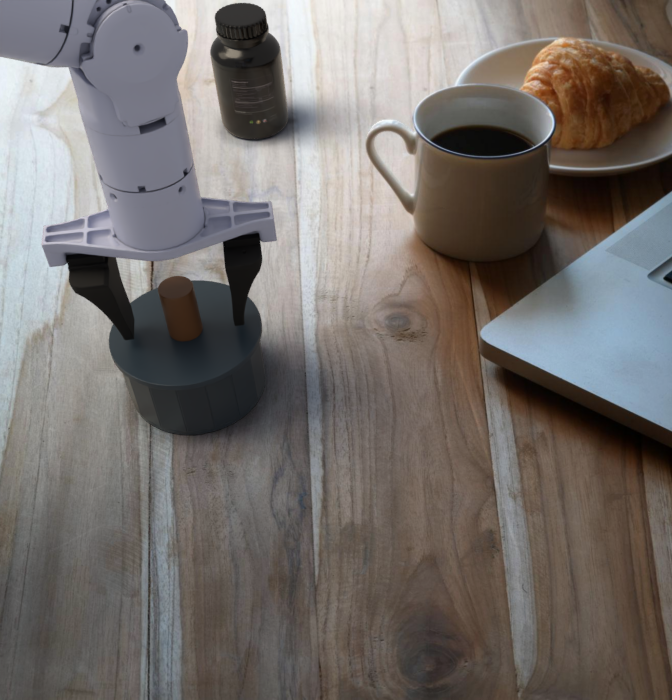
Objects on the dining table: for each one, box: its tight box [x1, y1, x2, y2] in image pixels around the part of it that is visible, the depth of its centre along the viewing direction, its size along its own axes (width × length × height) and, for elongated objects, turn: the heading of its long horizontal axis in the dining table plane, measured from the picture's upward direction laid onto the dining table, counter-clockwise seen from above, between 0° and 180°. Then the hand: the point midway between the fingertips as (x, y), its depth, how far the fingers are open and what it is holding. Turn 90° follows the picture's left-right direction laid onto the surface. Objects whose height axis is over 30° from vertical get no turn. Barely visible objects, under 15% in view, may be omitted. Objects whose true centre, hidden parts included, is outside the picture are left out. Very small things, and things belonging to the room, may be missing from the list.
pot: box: [122, 342, 266, 436], centre depth 70 cm, size 10×10×5 cm
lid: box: [108, 275, 263, 390], centre depth 66 cm, size 11×11×5 cm
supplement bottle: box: [209, 2, 289, 140], centre depth 92 cm, size 7×7×12 cm
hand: (184, 323), depth 67 cm, fingers open, 7 cm apart
